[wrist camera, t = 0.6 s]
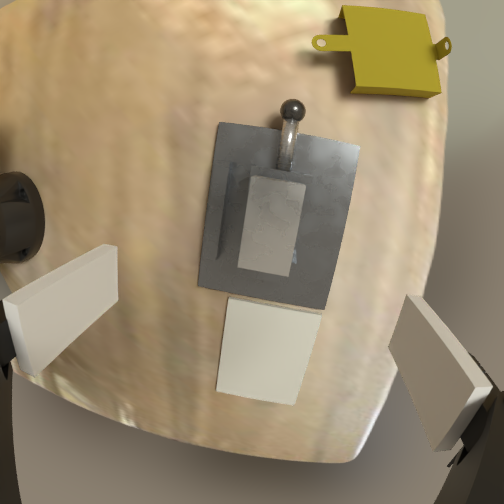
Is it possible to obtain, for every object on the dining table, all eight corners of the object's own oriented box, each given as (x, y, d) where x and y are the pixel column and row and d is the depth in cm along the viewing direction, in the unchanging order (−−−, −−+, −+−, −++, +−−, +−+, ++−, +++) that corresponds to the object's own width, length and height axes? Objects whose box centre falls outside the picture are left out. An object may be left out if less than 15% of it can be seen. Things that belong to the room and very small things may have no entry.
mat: (216, 388, 45) (216, 391, 44) (229, 296, 40) (228, 298, 39) (294, 402, 44) (294, 405, 43) (321, 313, 39) (322, 315, 39)
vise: (200, 283, 40) (185, 302, 34) (225, 96, 33) (213, 84, 28) (323, 306, 39) (328, 329, 33) (362, 119, 32) (375, 111, 26)
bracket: (303, -28, 22) (434, -14, 20) (301, 3, 29) (413, 11, 27) (323, 102, 26) (463, 110, 24) (316, 115, 33) (433, 118, 31)
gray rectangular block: (255, 232, 36) (237, 267, 24) (264, 172, 34) (251, 176, 22) (289, 238, 36) (288, 276, 24) (300, 178, 34) (306, 186, 22)
